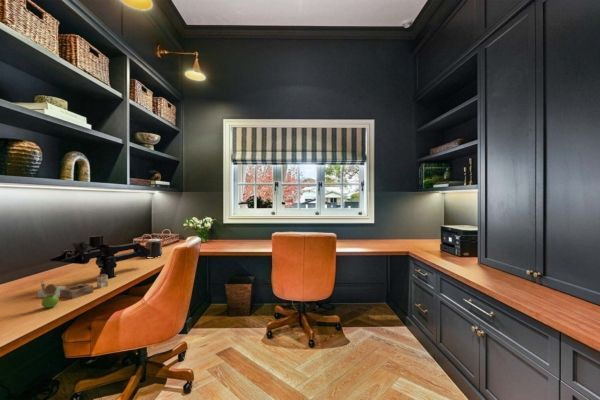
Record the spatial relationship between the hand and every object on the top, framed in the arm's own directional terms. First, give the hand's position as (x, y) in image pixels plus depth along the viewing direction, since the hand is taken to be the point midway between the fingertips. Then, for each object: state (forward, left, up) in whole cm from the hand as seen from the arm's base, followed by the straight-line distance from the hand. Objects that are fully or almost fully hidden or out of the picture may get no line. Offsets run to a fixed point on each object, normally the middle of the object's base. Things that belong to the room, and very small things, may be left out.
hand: (56, 260), depth 128 cm
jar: (-77, -22, -17) cm, 82 cm away
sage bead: (+3, +2, -17) cm, 17 cm away
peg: (-13, +14, -17) cm, 26 cm away
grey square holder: (-1, +14, -17) cm, 22 cm away
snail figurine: (+13, +20, -17) cm, 29 cm away
